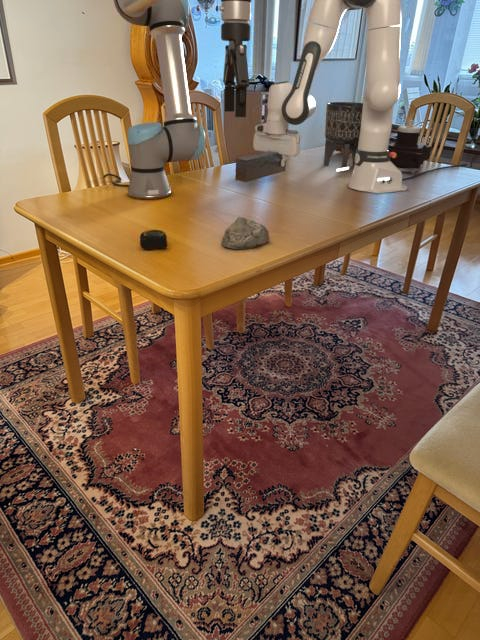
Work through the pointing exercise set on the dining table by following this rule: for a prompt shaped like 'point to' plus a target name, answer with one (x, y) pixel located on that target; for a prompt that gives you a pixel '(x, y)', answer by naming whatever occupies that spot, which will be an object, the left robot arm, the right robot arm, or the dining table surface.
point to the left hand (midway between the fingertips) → (234, 114)
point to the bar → (258, 166)
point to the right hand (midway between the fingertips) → (274, 164)
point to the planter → (342, 129)
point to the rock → (245, 234)
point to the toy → (341, 150)
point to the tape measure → (153, 239)
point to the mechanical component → (409, 148)
